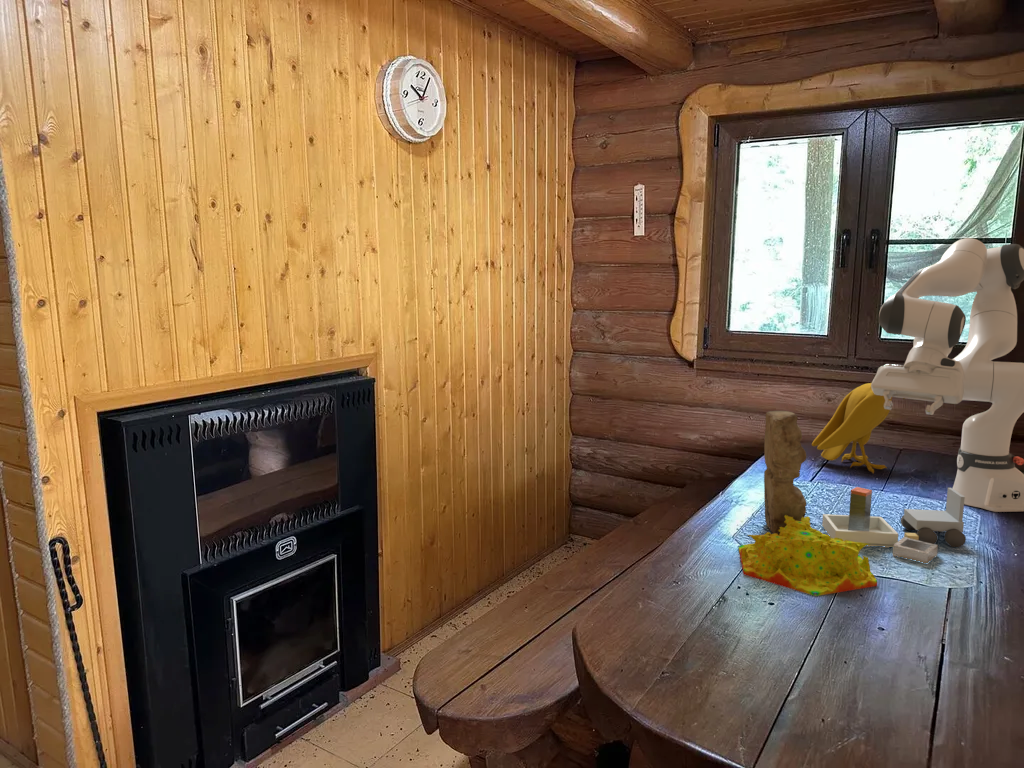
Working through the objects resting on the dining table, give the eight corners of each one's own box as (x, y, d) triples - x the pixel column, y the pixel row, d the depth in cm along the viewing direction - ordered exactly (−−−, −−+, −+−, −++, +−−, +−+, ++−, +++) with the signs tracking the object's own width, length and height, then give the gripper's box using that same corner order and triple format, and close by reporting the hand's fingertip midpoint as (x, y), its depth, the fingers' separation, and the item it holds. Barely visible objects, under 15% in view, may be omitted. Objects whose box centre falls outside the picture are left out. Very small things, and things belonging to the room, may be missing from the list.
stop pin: (853, 530, 171) (856, 486, 170) (868, 534, 169) (872, 490, 167) (847, 533, 169) (850, 490, 167) (863, 537, 166) (866, 493, 165)
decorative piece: (748, 554, 141) (737, 506, 170) (746, 591, 142) (736, 537, 171) (889, 565, 135) (853, 514, 163) (887, 604, 136) (851, 546, 165)
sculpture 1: (808, 541, 167) (815, 418, 162) (768, 539, 168) (774, 417, 163) (797, 523, 179) (803, 408, 174) (759, 521, 180) (764, 407, 175)
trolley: (943, 530, 173) (947, 485, 171) (965, 548, 162) (969, 499, 160) (900, 528, 174) (903, 483, 173) (918, 545, 163) (922, 497, 162)
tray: (880, 529, 173) (881, 516, 173) (897, 547, 162) (898, 533, 162) (822, 527, 176) (822, 514, 175) (834, 544, 165) (835, 530, 164)
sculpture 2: (908, 478, 221) (926, 385, 216) (824, 470, 221) (841, 377, 216) (876, 461, 241) (892, 375, 236) (799, 454, 241) (813, 368, 236)
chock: (914, 542, 165) (915, 533, 165) (917, 546, 163) (918, 536, 163) (903, 542, 166) (904, 532, 165) (906, 545, 164) (907, 535, 163)
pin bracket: (903, 547, 163) (903, 536, 162) (936, 555, 158) (937, 545, 157) (892, 555, 158) (893, 545, 157) (926, 564, 153) (927, 553, 152)
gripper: (877, 356, 183) (860, 397, 178) (968, 362, 168) (952, 408, 163) (883, 371, 187) (866, 412, 182) (971, 379, 172) (956, 424, 167)
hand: (907, 410), depth 172 cm, fingers open, 8 cm apart
